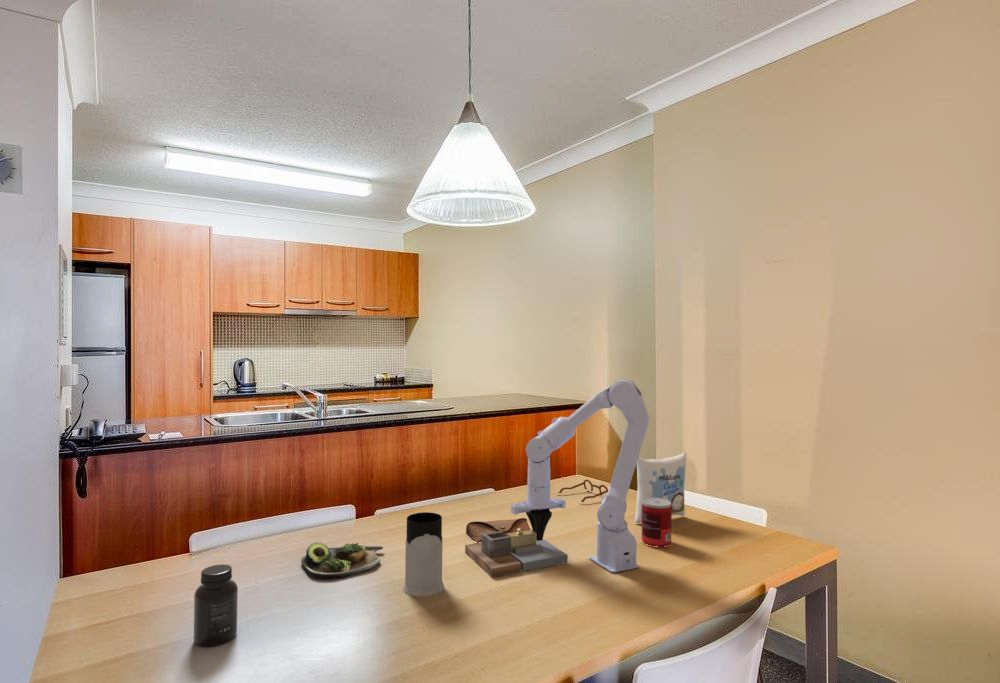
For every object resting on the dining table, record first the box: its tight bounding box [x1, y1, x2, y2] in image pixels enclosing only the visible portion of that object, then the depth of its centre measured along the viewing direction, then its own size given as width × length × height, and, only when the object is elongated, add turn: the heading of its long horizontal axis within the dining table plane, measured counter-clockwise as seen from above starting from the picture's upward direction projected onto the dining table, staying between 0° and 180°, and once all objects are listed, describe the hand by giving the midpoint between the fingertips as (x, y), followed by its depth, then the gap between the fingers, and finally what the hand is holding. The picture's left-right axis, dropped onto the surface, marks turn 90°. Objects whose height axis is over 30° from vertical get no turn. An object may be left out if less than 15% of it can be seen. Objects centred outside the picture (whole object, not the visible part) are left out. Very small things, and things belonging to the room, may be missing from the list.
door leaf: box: [510, 538, 569, 572], centre depth 137 cm, size 16×12×3 cm
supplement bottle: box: [193, 563, 239, 648], centre depth 98 cm, size 7×7×12 cm
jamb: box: [464, 531, 522, 578], centre depth 133 cm, size 16×7×6 cm, turn 25°
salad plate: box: [300, 542, 384, 580], centre depth 132 cm, size 19×18×5 cm
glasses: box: [558, 479, 609, 503], centre depth 190 cm, size 13×13×5 cm
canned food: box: [641, 498, 673, 547], centre depth 147 cm, size 8×8×11 cm
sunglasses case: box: [465, 517, 531, 543], centre depth 151 cm, size 18×7×7 cm
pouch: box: [634, 451, 687, 524], centre depth 165 cm, size 8×19×20 cm, turn 112°
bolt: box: [507, 528, 536, 552], centre depth 136 cm, size 2×7×5 cm, turn 115°
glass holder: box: [402, 511, 445, 598], centre depth 121 cm, size 9×14×15 cm, turn 15°
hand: (538, 539), depth 138 cm, fingers closed
